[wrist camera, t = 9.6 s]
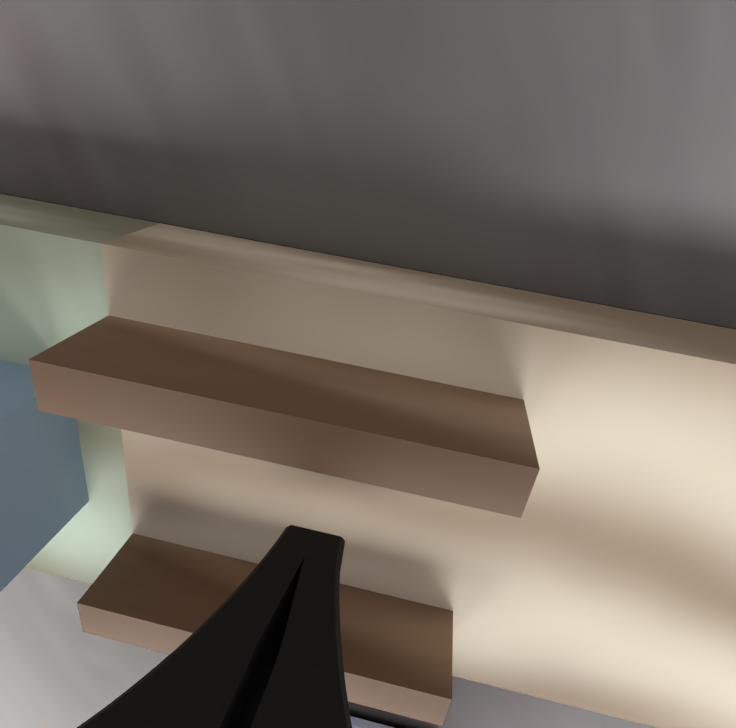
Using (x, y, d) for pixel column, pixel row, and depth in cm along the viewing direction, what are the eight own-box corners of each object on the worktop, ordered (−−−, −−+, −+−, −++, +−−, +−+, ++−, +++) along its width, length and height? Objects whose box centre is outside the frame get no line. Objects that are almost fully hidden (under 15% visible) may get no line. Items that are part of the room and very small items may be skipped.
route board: (691, 664, 17) (771, 852, 13) (-127, 467, 20) (-295, 565, 16) (912, 362, 12) (1186, 507, 7) (-259, 146, 14) (-577, 156, 10)
